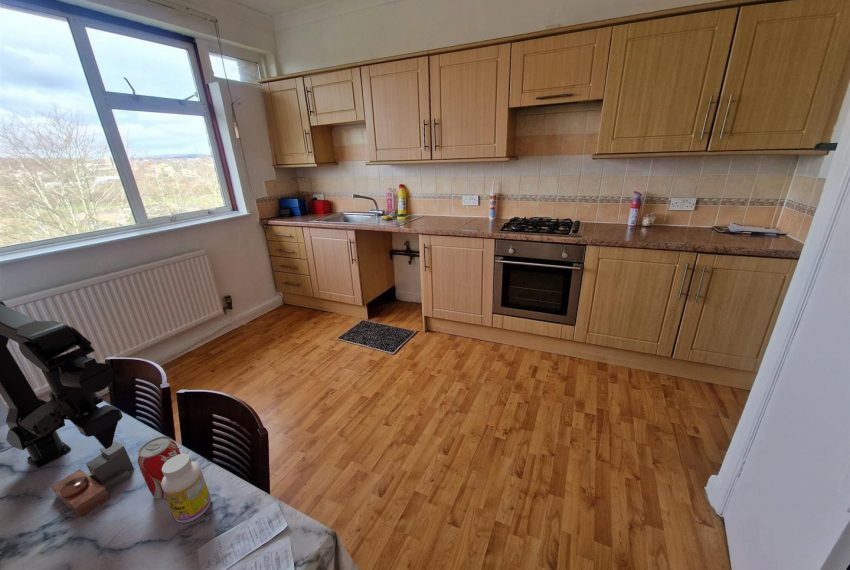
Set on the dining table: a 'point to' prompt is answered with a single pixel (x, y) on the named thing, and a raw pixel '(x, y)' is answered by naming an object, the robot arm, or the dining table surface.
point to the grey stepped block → (109, 463)
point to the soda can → (156, 462)
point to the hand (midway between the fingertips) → (98, 440)
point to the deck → (86, 491)
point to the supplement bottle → (185, 488)
